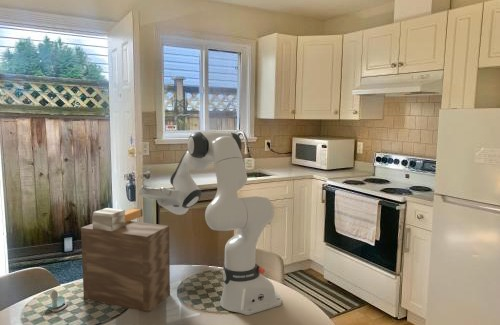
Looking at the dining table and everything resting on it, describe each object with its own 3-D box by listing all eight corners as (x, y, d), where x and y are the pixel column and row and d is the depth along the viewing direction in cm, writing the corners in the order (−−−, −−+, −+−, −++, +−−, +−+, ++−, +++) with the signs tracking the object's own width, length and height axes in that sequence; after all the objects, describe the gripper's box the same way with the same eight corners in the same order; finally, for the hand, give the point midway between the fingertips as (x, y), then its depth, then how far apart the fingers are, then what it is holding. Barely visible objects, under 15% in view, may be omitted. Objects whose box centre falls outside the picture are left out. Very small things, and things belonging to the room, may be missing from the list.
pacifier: (71, 304, 138) (56, 302, 139) (71, 287, 137) (56, 285, 138) (58, 314, 131) (42, 312, 132) (57, 297, 130) (42, 294, 131)
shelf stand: (109, 283, 154) (106, 203, 150) (169, 294, 145) (168, 209, 141) (83, 298, 141) (80, 211, 137) (148, 312, 132) (146, 219, 128)
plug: (135, 215, 156) (134, 207, 156) (142, 216, 155) (142, 208, 155) (104, 227, 139) (104, 218, 139) (112, 228, 138) (112, 219, 138)
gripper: (149, 190, 180) (133, 179, 168) (188, 193, 174) (174, 183, 162) (145, 202, 178) (129, 193, 166) (184, 206, 172) (170, 197, 159)
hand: (152, 188), depth 164 cm, fingers open, 8 cm apart
